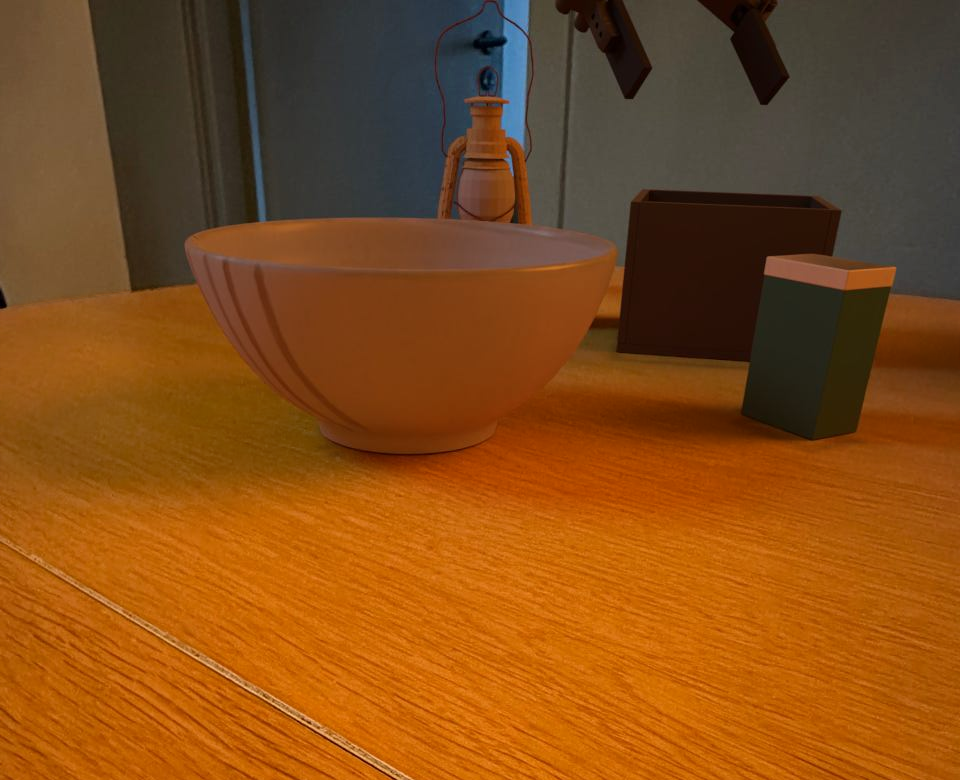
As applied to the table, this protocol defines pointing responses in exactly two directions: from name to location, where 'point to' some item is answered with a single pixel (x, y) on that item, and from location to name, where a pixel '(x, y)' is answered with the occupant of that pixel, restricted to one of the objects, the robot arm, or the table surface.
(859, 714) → the table surface
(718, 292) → the waste bin
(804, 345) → the block
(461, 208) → the lantern
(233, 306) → the decorative bowl
